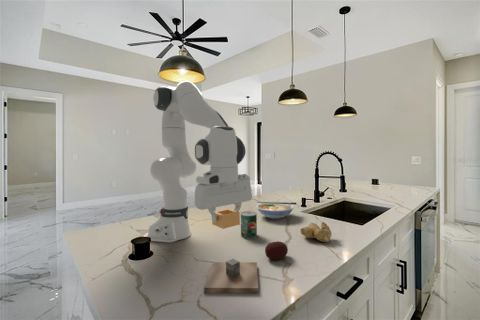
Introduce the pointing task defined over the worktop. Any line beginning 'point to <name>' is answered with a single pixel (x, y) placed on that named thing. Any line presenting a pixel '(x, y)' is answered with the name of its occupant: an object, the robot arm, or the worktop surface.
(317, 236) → the ginger root
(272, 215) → the ramen bowl
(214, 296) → the worktop surface
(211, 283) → the base plate
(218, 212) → the orange square tube
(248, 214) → the canned tomato
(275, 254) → the potato
